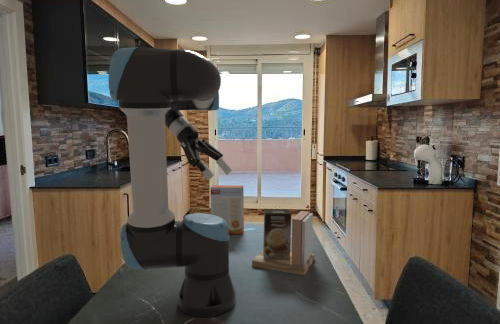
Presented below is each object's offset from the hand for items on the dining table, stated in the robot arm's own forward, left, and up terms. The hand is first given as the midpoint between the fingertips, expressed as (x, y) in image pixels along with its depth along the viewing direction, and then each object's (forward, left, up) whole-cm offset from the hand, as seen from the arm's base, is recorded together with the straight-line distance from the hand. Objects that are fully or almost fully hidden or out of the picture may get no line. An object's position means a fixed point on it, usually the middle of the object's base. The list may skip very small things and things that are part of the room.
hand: (221, 175), depth 119 cm
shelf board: (+3, -23, -30) cm, 37 cm away
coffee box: (+3, -20, -28) cm, 34 cm away
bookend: (+3, -29, -28) cm, 40 cm away
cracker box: (+25, +10, -30) cm, 40 cm away
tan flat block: (+3, -28, -27) cm, 40 cm away
